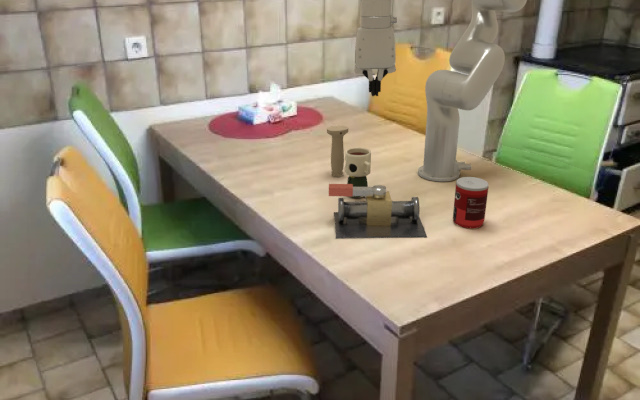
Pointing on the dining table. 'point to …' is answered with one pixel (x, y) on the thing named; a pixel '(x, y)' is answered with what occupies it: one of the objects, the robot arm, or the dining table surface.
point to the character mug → (358, 166)
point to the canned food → (470, 202)
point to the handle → (337, 149)
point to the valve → (378, 218)
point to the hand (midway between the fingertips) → (374, 94)
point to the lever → (357, 190)
